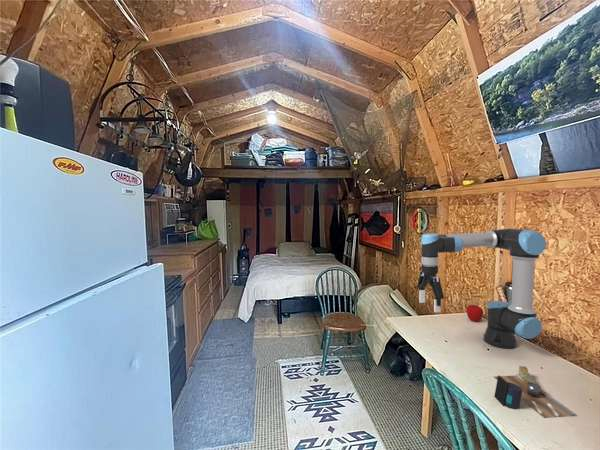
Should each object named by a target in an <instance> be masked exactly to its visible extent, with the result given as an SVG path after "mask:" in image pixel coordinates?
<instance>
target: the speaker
mask: <svg viewBox="0 0 600 450" xmlns="http://www.w3.org/2000/svg"><path fill="white" fill-rule="evenodd" d="M497 376H498V379H496V385H495V390H494V396H493V397H494V398H495V399H496V400H497V401H498V403H500V404H501V405H502V407H506V408H508V409H512V410H518V409H519V408H520V404H521V401H522V400H521V396H522V391H523V390H522V389H521V388H520V387H519V386H517V385H515V384H513V383H510V382H506V381H505V380H504V379H503V378H502V377H501V376H502V375H499V374H498V375H497Z"/></svg>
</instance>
